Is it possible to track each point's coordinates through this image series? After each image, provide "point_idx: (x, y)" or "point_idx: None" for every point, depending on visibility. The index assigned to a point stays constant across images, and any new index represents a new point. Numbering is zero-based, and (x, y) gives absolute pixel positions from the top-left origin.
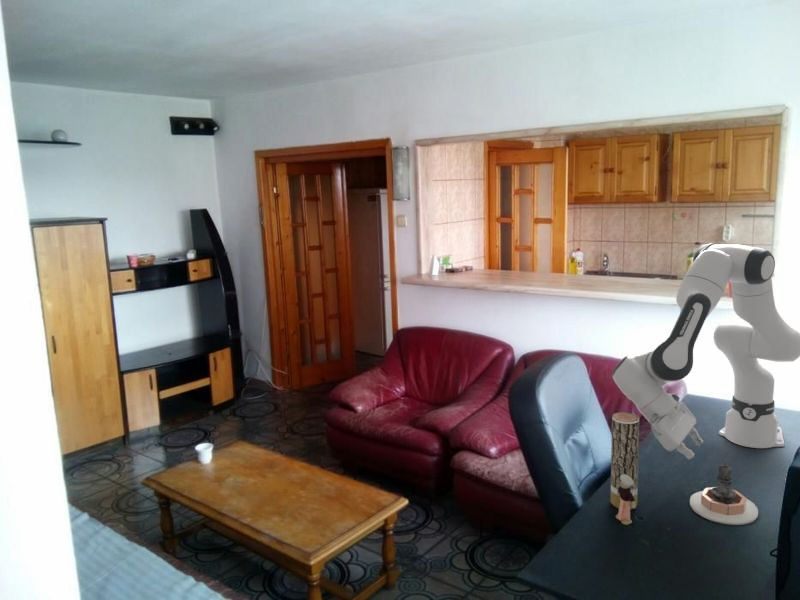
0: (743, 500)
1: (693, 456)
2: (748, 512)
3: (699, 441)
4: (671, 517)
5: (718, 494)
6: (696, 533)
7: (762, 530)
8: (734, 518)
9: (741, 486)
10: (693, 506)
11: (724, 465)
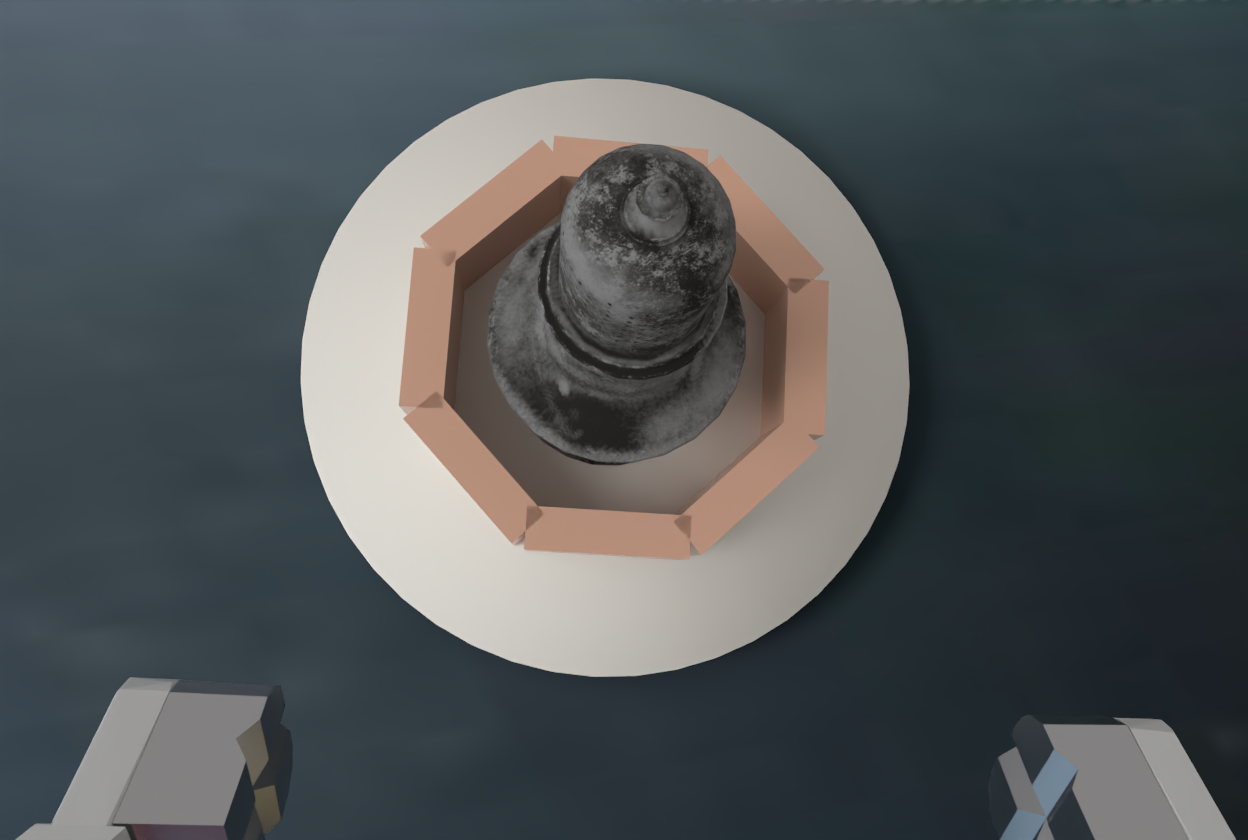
0: None
1: (1133, 718)
2: None
3: (247, 760)
4: None
5: (719, 373)
6: (1173, 508)
7: (830, 53)
8: (825, 246)
9: (29, 270)
10: (791, 611)
11: (672, 219)
